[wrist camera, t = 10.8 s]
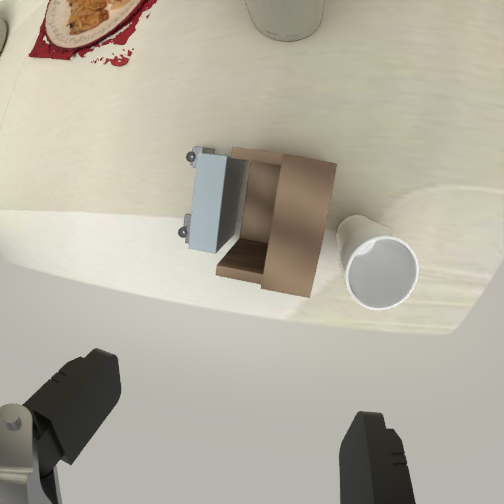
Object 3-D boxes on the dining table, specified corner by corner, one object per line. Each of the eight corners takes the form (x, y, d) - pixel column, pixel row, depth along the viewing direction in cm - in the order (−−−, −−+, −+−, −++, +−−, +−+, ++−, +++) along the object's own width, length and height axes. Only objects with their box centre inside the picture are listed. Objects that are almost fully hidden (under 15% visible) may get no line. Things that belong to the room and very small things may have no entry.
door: (213, 154, 39) (188, 152, 30) (244, 157, 38) (226, 156, 30) (204, 229, 42) (179, 246, 33) (234, 234, 41) (215, 253, 33)
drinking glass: (345, 269, 40) (364, 324, 26) (320, 225, 39) (329, 261, 25) (389, 244, 38) (430, 287, 24) (365, 198, 37) (401, 219, 23)
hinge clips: (194, 146, 39) (179, 145, 34) (214, 149, 38) (202, 147, 34) (184, 231, 42) (169, 240, 37) (203, 234, 42) (191, 244, 37)
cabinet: (253, 151, 38) (229, 146, 25) (325, 164, 37) (336, 163, 24) (240, 243, 41) (212, 278, 29) (308, 256, 40) (309, 297, 28)
